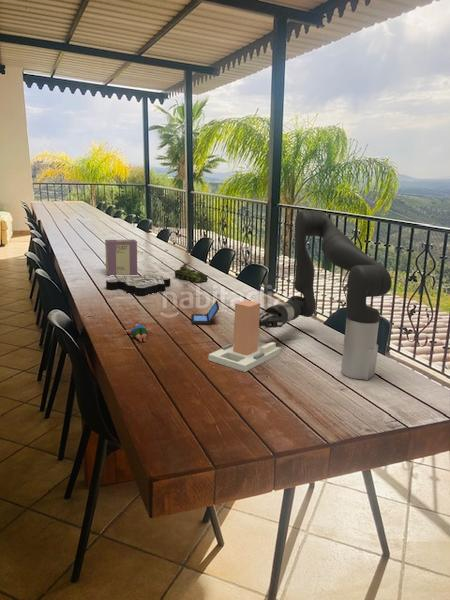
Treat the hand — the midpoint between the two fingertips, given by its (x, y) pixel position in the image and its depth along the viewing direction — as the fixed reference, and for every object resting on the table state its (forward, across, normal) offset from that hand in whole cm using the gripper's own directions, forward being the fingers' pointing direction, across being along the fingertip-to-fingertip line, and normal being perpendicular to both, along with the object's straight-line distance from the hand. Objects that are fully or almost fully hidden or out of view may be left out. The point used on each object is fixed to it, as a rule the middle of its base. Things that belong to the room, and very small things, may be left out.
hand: (252, 325), depth 150 cm
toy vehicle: (-75, -93, +10) cm, 120 cm away
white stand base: (+3, 0, +10) cm, 10 cm away
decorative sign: (-41, -96, +11) cm, 105 cm away
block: (+3, 0, +8) cm, 9 cm away
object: (-19, -35, +10) cm, 42 cm away
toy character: (+12, -40, +11) cm, 43 cm away
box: (-56, -130, +10) cm, 142 cm away
